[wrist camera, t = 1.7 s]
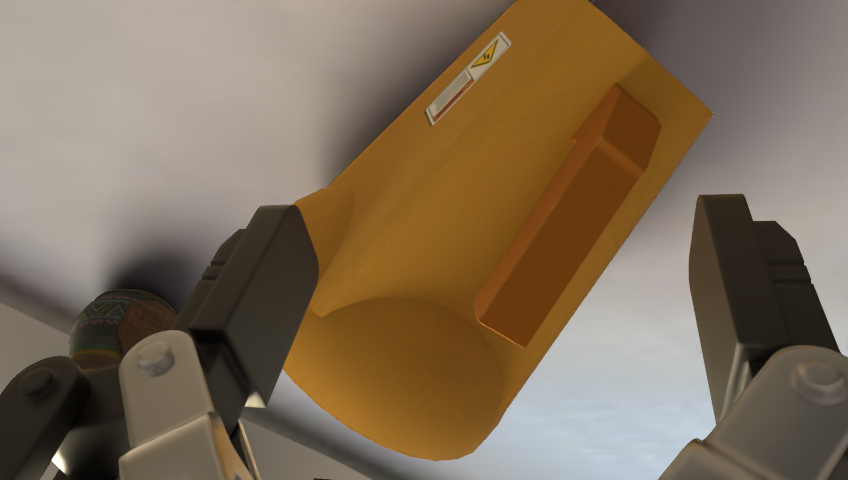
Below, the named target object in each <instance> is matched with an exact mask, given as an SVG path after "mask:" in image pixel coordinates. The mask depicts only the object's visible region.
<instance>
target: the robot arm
mask: <svg viewBox="0 0 848 480" xmlns="http://www.w3.org/2000/svg"><path fill="white" fill-rule="evenodd" d="M210 263H211V266H208V267H207V269H206V270H205V272H204V274H203V275H202V280H199V282H198V283H197V285H196V287H195V288H194V290H193V292H192V293H191V295H190V296H189V298H188V300H187V301H186V303H185V305H184V306H183V308H182V309H181V311H180V313H179V314H178V316H177V318H176V319H175V321H174V322H173V324H172V326H171V327H170V329H169V330H167V331H162V332H158V333H155V334H153V335H150V336H148V337H146V338H145V339H143V340H141V341H140V342H138V343H137V344H136V345H135V346H133V347H132V348H131V349H130V350H129V351H128V353H127V354H126V355H125V357H124V358H123V360H122V362H121V363H119V364H115V365H111V366H107V367H103V368H99V369H95V370H91V371H87V372H83V371H82V370H81V369H80V367H79V366H78V365H77V364H76V362H75V361H74V360H73V359H71V358H69V357H66V356H54V357H49V358H46V359H43V360H40V361H38V362H36V363H34V364H32V365H30V366H28V367H27V368H25V369H24V370H23V371H21V372H20V373H19V374H18V375H16V377H14V378H13V379H12V380H11V381H10V383H9V384H8V385H7V386H6V388H5V389H4V391H3V392H2V393H1V395H0V480H40V479H41V477H42V475H43V474H44V472H45V470H46V469H47V467H48V465H49V464H50V462H51V460H52V461H53V462H54V463H55V464H56V465H57V466H58V467H59V468H60V469H59V470H58V472H57V474H56V476H55V477H54V479H53V480H261V477H260V474H259V471H258V469H257V466H256V463H255V460H254V457H253V454H252V451H251V448H250V445H249V442H248V439H247V437H246V433H245V430H244V427H243V425H242V423H241V422H240V420H239V418H240V416H241V414H242V411H243V409H244V407H264V408H266V406H267V404H268V402H269V399H270V397H271V394H272V392H273V390H274V387H275V385H276V382H277V380H278V378H279V375H280V373H281V370H282V368H283V366H284V363H285V361H286V358H287V356H288V354H289V351H290V349H291V346H292V344H293V342H294V339H295V337H296V334H297V332H298V330H299V327H300V325H301V322H302V320H303V318H304V315H305V313H306V310H307V308H308V306H309V303H310V301H311V298H312V296H313V294H314V291H315V289H316V286H317V283H318V278H319V263H318V258H317V255H316V252H315V249H314V247H313V244H312V241H311V238H310V235H309V233H308V230H307V227H306V224H305V222H304V219H303V216H302V213H301V211H300V209H299V208H298V207H297V206H296V205H266V206H260V207H259V208H258V209H257V211H256V212H255V214H254V216H253V218H252V219H251V221H250V223H249V224H248V226H247V228H246V229H239V230H238V231H237V232H235V233H234V234H233V235H232V236H231V237H230V238H229V239H227V240H226V241H225V242H224V243H223V244H222V245H221V246H220V248H219V249H218V251H217V253H216V254H215V256H214V257H213V259H212V261H211V262H210ZM689 284H690V290H691V296H692V301H693V306H694V311H695V316H696V322H697V327H698V332H699V337H700V342H701V348H702V353H703V358H704V363H705V368H706V373H707V379H708V384H709V389H710V394H711V399H712V405H713V410H714V415H715V420H716V427H715V428H714V429H713V430H712V432H711V433H710V434H709V435H708V436H707V437H706V438H705V439H704V440H702V441H701V440H700V439H698V438H696V439H693V440H692V441H690V442H689V443H688V444H687V445H686V446H685V447H684V448H683V449H682V451H681V452H680V453H679V454H678V455H677V457H676V458H675V459H674V460H673V462H672V463H671V464H670V465H669V467H668V468H667V469H666V470H665V471H664V473H663V474H662V475H661V476H660V478H659V479H658V480H848V357H846V356H844V355H842V354H841V352H840V350H839V348H838V346H837V343H836V341H835V338H834V336H833V333H832V331H831V328H830V326H829V323H828V321H827V318H826V315H825V313H824V310H823V308H822V305H821V303H820V300H819V298H818V295H817V293H816V290H815V288H814V285H813V284H811V278H810V275H809V273H808V270H807V267H806V266H804V260H803V257H802V255H801V252H800V250H799V247H798V245H797V242H796V240H795V239H794V238H793V237H792V236H791V235H790V234H789V233H788V232H787V231H786V230H784V229H783V228H782V227H781V226H780V225H779V224H778V223H777V222H776V221H753V219H752V216H751V213H750V210H749V207H748V204H747V201H746V199H745V196H744V195H743V194H718V195H699V196H698V199H697V203H696V210H695V217H694V225H693V232H692V240H691V247H690V255H689ZM314 480H329V479H316V478H314Z"/></svg>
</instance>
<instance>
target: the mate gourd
mask: <svg viewBox="0 0 848 480" xmlns="http://www.w3.org/2000/svg"><path fill="white" fill-rule="evenodd" d="M176 318H177V315H176V313H175V312H174V310H173V309H172V307H171V306H170V305H169V304H168V303H167V302H165V301H164V300H163V299H161V298H160V297H158V296H156V295H154V294H152V293H150V292H147V291H144V290H138V289H118V290H112V291H108V292H105V293H103V294H101V295H100V296H98V297H97V298H96V299H95V300H94V301H93V302H91V303H90V304H89V305H88V306H87V307H86V308H85V309H84V310H83V311H82V312H81V313H80V314H79V316H78V317H77V319H76V321H75V323H74V325H73V327H72V332H71V334H70V342H69V356H68V357H69V358H71V359H73V360H74V361H75V362H76V364H77V365H78V366H79V367H80V369H81V370H82V371H83V372H87V371H91V370H95V369H99V368H103V367H107V366H111V365H115V364H119V363H121V362H122V360H123V358H124V357H125V355H126V354H127V353H128V351H129V350H130V349H131V348H132V347H133V346H135V345H136V344H137V343H138V342H140V341H141V340H143V339H145V338H146V337H148V336H150V335H153V334H155V333H158V332H162V331H167V330H169V329H170V327H171V326H172V324H173V322H174V321H175V319H176Z"/></svg>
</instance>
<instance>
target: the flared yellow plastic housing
mask: <svg viewBox="0 0 848 480" xmlns="http://www.w3.org/2000/svg"><path fill="white" fill-rule="evenodd" d="M713 115H714V114H713V113H712V112H711V110H709V109H708V108H707V107H706V106H705V105H704V104H703V103H702V102H701V101H700V100H699V99H698V98H697V97H696V96H694V95H693V94H692V93H691V92H690V91H689V90H688V89H687V88H686V87H685V86H683V85H682V84H681V83H680V82H679V81H678V80H677V79H676V78H675V77H674V76H672V75H671V74H670V73H669V72H668V71H667V70H666V69H665V68H664V67H663V66H662V65H660V64H659V63H658V62H657V61H656V60H655V59H654V58H653V57H652V56H651V55H649V54H648V53H647V52H646V51H645V50H644V49H643V48H642V47H641V46H640V45H638V44H637V43H636V42H635V41H634V40H633V39H632V38H631V37H630V36H629V35H628V34H626V33H625V32H624V31H623V30H622V29H621V28H620V27H619V26H618V25H617V24H615V23H614V22H613V21H612V20H611V19H610V18H609V17H607V16H606V15H605V14H604V13H603V12H602V11H600V10H599V9H598V8H597V7H595V6H594V5H593V4H591V3H590V2H589V1H587V0H516V1H515V2H514V3H513V4H512V5H511V6H510V7H509V8H508V9H507V10H506V11H505V12H504V13H503V14H502V15H501V16H500V17H499V18H498V19H497V20H496V21H495V22H494V23H493V24H492V25H491V26H490V27H489V28H488V29H487V30H486V31H485V32H484V33H483V34H482V35H481V36H480V37H479V38H478V39H477V40H476V41H475V42H474V43H473V44H472V45H471V46H470V47H469V48H468V49H467V50H466V51H465V52H464V53H462V54H461V55H460V56H459V57H458V58H457V59H456V60H455V61H454V62H453V63H452V64H451V65H450V66H449V67H448V68H447V69H446V70H445V71H444V72H443V73H442V74H441V75H440V76H439V77H438V78H437V79H436V80H435V81H434V82H433V83H432V84H431V85H430V86H429V87H428V88H427V89H426V90H425V91H424V92H423V93H422V94H421V95H420V96H419V97H418V98H417V99H416V100H415V101H414V102H413V103H412V104H411V105H410V106H409V107H408V108H407V109H406V110H405V111H404V112H403V113H402V114H401V115H400V116H399V117H398V118H397V119H396V120H395V121H394V122H393V123H391V124H390V125H389V126H388V127H387V128H386V129H385V130H384V131H383V132H382V133H381V134H380V135H379V136H378V137H377V138H376V139H375V140H374V141H373V142H372V143H371V144H370V145H369V146H368V147H367V148H366V149H365V150H364V151H363V152H362V153H361V154H360V155H359V156H358V157H357V158H356V159H355V160H354V161H353V162H352V163H351V164H350V165H349V166H348V167H347V168H346V169H345V170H344V171H343V172H342V173H341V174H340V175H339V176H338V177H337V178H336V179H335V180H334V181H333V182H332V183H331V184H330V185H329V186H328V187H327V188H325V189H321V190H319V191H317V192H314V193H312V194H310V195H308V196H306V197H304V198H302V199H299V200H297V201H296V202H294V203H293V204H291V205H296V206H297V207H298V208H299V209H300V211H301V213H302V216H303V219H304V222H305V224H306V227H307V230H308V233H309V235H310V238H311V241H312V244H313V247H314V249H315V252H316V255H317V258H318V263H319V278H318V283H317V286H316V289H315V291H314V294H313V296H312V298H311V301H310V303H309V306H308V308H307V310H306V313H305V315H304V318H303V320H302V322H301V325H300V327H299V330H298V332H297V334H296V337H295V339H294V342H293V344H292V346H291V349H290V351H289V354H288V356H287V358H286V361H285V363H284V366H283V368H282V369H283V370H284V371H285V372H286V373H287V375H288V376H289V377H290V378H291V379H292V381H293V382H294V383H295V384H296V385H297V386H299V387H300V388H301V389H302V390H303V391H304V392H305V393H306V394H307V395H308V396H309V397H310V398H311V399H312V400H314V401H315V402H316V403H317V404H318V405H319V406H320V407H321V408H322V409H324V410H325V411H327V412H328V413H329V414H331V415H332V416H333V417H335V418H336V419H337V420H339V421H340V422H342V423H343V424H344V425H346V426H347V427H348V428H350V429H351V430H353V431H355V432H357V433H359V434H360V435H362V436H364V437H366V438H368V439H370V440H371V441H373V442H375V443H377V444H379V445H381V446H383V447H386V448H388V449H391V450H394V451H396V452H399V453H402V454H405V455H407V456H410V457H416V458H422V459H428V460H434V461H440V460H453V459H459V458H461V457H463V456H465V455H468V454H470V453H472V452H474V451H475V450H476V449H477V448H478V446H479V445H480V444H481V443H482V442H483V441H484V440H485V439H486V438H487V437H488V435H489V434H490V433H491V432H492V431H493V430H494V428H495V427H496V426H497V425H498V424H499V422H500V420H501V418H502V417H503V415H504V413H505V411H506V410H507V408H508V407H509V405H510V404H511V402H512V401H513V400H514V398H515V397H516V395H517V394H518V392H519V391H520V390H521V388H522V387H523V385H524V384H525V383H526V381H527V380H528V378H529V377H530V375H531V374H532V373H533V371H534V370H535V368H536V367H537V365H538V364H539V363H540V361H541V360H542V358H543V357H544V355H545V354H546V353H547V351H548V350H549V348H550V347H551V345H552V344H553V343H554V341H555V340H556V338H557V337H558V336H559V334H560V333H561V331H562V330H563V328H564V327H565V326H566V324H567V323H568V321H569V320H570V318H571V317H572V316H573V314H574V313H575V311H576V310H577V308H578V307H579V306H580V304H581V303H582V301H583V300H584V298H585V297H586V296H587V294H588V293H589V291H590V290H591V288H592V287H593V286H594V284H595V283H596V281H597V280H598V279H599V277H600V276H601V274H602V273H603V271H604V270H605V269H606V267H607V266H608V264H609V263H610V261H611V260H612V259H613V257H614V256H615V254H616V253H617V251H618V250H619V249H620V247H621V246H622V244H623V243H624V241H625V240H626V239H627V237H628V236H629V234H630V233H631V232H632V230H633V229H634V227H635V226H636V224H637V223H638V222H639V220H640V219H641V217H642V216H643V214H644V213H645V212H646V210H647V209H648V207H649V206H650V204H651V203H652V202H653V200H654V199H655V197H656V196H657V194H658V193H659V192H660V190H661V189H662V187H663V186H664V184H665V183H666V182H667V180H668V179H669V177H670V176H671V175H672V173H673V172H674V170H675V169H676V167H677V166H678V165H679V163H680V162H681V160H682V159H683V157H684V156H685V155H686V153H687V152H688V150H689V149H690V147H691V146H692V145H693V143H694V142H695V140H696V139H697V137H698V136H699V135H700V133H701V132H702V130H703V129H704V128H705V126H706V125H707V123H708V122H709V120H710V119H711V118H712V116H713Z"/></svg>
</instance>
